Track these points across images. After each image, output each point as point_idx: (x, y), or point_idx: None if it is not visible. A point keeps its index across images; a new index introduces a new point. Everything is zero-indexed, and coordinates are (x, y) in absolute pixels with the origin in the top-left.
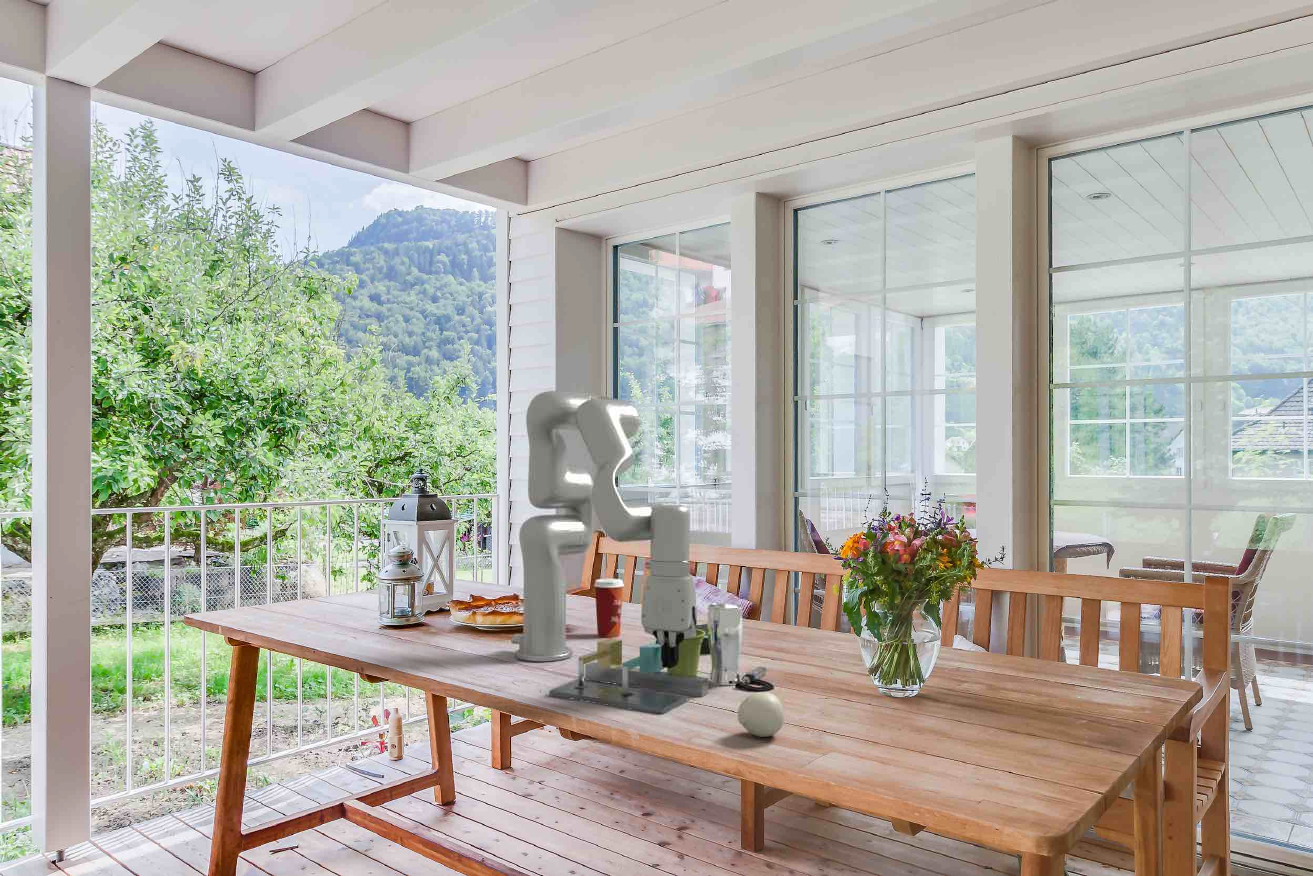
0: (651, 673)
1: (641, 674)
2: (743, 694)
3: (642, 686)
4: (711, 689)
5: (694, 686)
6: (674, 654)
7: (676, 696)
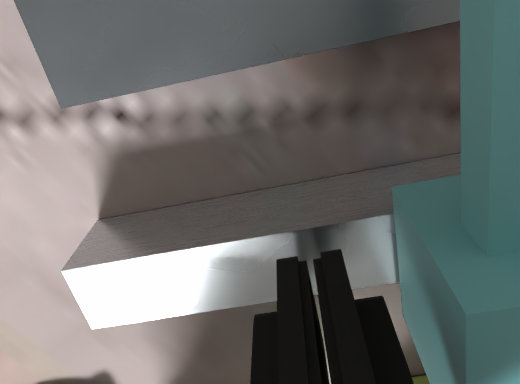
0: None
1: None
2: (22, 348)
3: None
4: (170, 332)
5: (124, 239)
6: (254, 364)
7: (92, 57)
